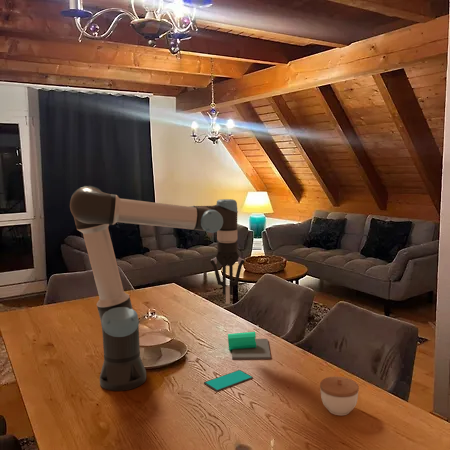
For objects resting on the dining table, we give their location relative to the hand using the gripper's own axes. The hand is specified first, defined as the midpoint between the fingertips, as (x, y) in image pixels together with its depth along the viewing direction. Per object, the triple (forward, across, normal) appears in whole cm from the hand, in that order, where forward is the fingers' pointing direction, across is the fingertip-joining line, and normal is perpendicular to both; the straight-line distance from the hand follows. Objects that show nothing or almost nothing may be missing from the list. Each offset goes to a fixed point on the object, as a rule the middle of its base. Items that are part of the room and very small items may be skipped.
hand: (227, 302), depth 181 cm
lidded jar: (+19, -33, +45) cm, 58 cm away
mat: (+18, -9, 0) cm, 20 cm away
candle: (+16, 0, 0) cm, 16 cm away
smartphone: (+19, -1, +26) cm, 32 cm away
